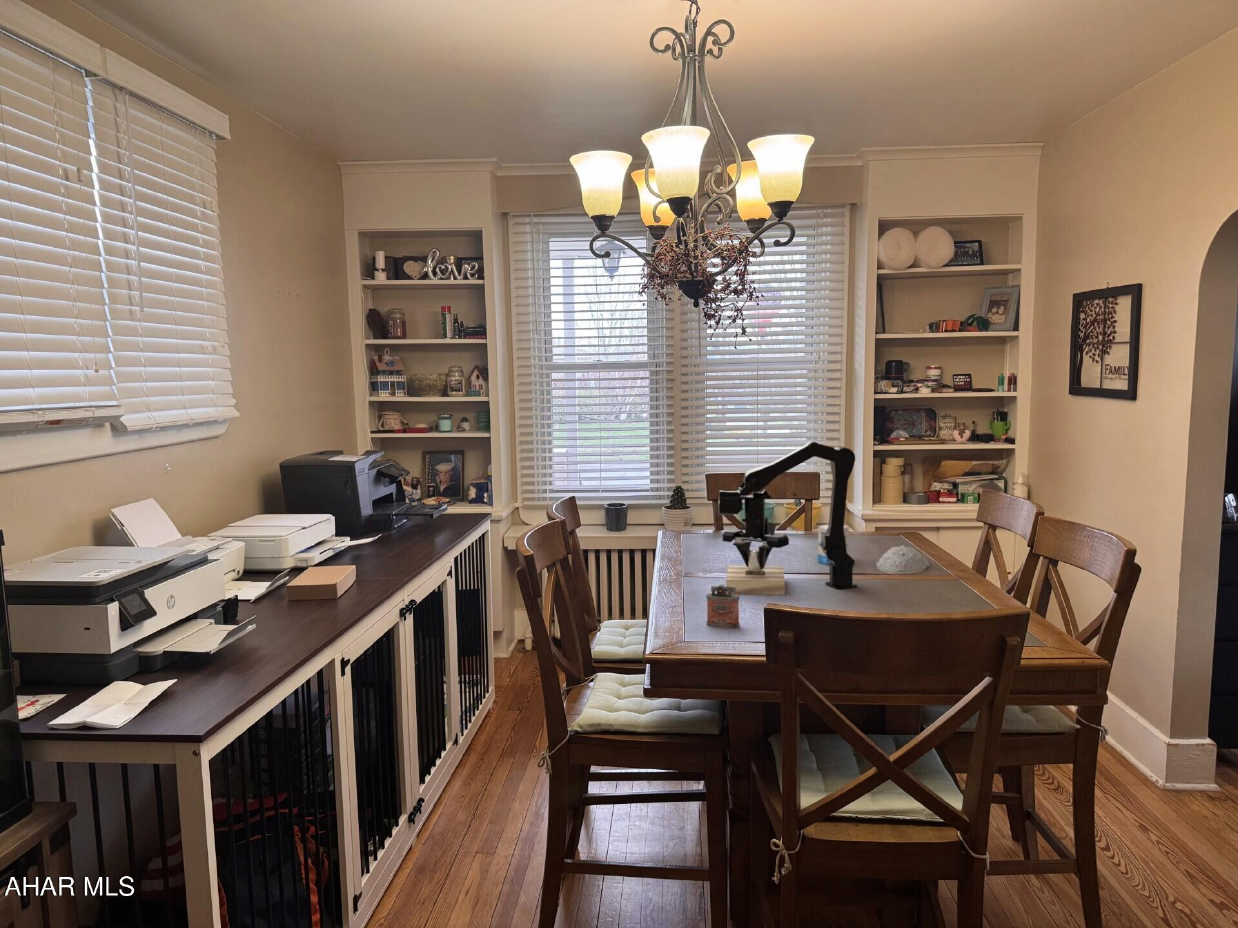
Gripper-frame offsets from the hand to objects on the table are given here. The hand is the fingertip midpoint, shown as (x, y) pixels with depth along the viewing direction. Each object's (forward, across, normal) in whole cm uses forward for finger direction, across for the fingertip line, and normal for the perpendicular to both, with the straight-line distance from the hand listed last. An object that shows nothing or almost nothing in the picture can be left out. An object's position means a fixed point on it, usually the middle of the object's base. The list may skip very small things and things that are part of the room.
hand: (755, 567), depth 226 cm
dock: (+6, 0, 0) cm, 6 cm away
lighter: (+6, -12, +36) cm, 38 cm away
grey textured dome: (+6, -25, -48) cm, 54 cm away
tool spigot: (+3, 0, 0) cm, 3 cm away
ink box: (+6, -6, -40) cm, 40 cm away
